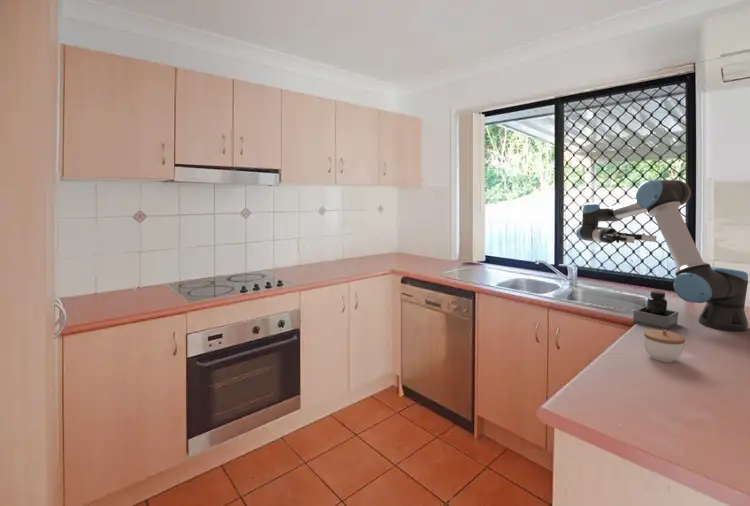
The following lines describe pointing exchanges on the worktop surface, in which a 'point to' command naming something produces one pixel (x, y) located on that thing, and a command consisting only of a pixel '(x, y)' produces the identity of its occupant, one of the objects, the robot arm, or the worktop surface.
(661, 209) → the robot arm
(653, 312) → the supplement bottle
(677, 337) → the lidded jar
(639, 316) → the bin
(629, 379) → the worktop surface
